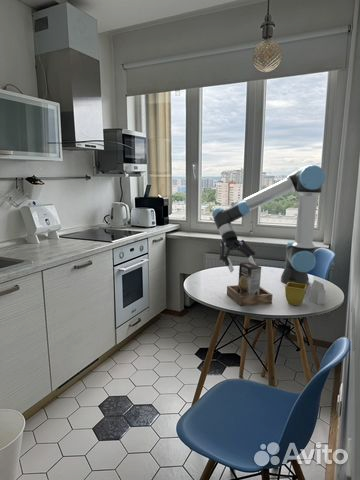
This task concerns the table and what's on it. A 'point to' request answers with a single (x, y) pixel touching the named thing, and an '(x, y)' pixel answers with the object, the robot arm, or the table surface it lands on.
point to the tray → (249, 297)
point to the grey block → (317, 292)
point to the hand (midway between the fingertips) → (243, 269)
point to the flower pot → (295, 293)
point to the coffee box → (249, 279)
